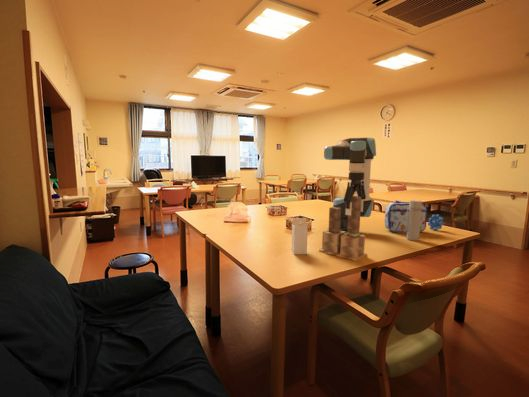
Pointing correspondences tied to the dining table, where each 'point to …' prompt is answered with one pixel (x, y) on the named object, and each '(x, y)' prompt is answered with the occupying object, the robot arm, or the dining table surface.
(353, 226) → the right post
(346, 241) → the stand
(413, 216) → the tall beige block
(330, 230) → the left post
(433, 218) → the blue bumpy wheel
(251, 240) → the dining table surface
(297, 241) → the milk carton
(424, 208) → the lunch box
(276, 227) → the dining table surface
